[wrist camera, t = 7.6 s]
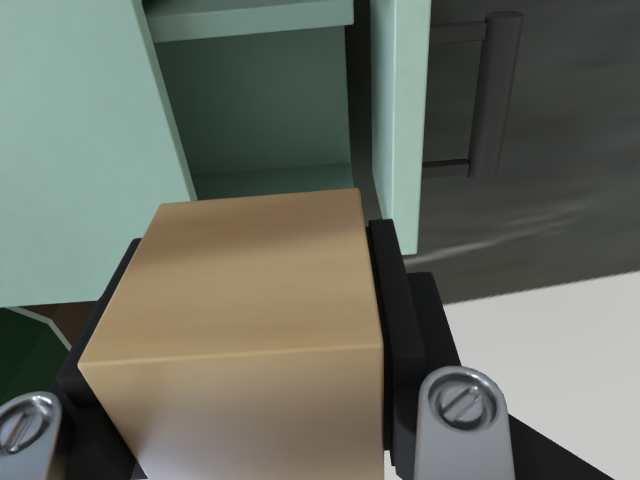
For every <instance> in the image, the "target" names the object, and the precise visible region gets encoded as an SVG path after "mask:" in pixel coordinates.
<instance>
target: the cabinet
mask: <svg viewBox="0 0 640 480" xmlns="http://www.w3.org/2000/svg"><path fill="white" fill-rule="evenodd" d="M141 1H142V0H0V307H13V306H26V305H40V304H54V303H68V302H81V301H95V300H98V299H99V298H100V297H101V296H102V294H103V293H104V291H105V289H106V287H107V285H108V283H109V282H110V280H111V278H112V276H113V274H114V272H115V271H116V269H117V267H118V265H119V263H120V261H121V260H122V258H123V256H124V254H125V252H126V250H127V248H128V247H129V245H130V243H131V241H132V240H133V239H135V238H143V236H144V234H145V232H146V230H147V228H148V226H149V224H150V222H151V220H152V218H153V216H154V214H155V213H156V211H157V209H158V207H159V205H160V204H162V203H174V202H187V201H198V200H197V196H196V193H195V189H194V186H193V182H192V179H191V175H190V172H189V168H188V165H187V161H186V158H185V154H184V151H183V147H182V144H181V140H180V136H179V133H178V129H177V126H176V122H175V119H174V115H173V112H172V108H171V105H170V101H169V98H168V94H167V91H166V87H165V84H164V80H163V77H162V73H161V70H160V66H159V63H158V59H157V56H156V52H155V49H154V45H153V42H152V38H151V35H150V31H149V28H148V24H147V21H146V17H145V14H144V10H143V7H142V3H141Z"/></svg>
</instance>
